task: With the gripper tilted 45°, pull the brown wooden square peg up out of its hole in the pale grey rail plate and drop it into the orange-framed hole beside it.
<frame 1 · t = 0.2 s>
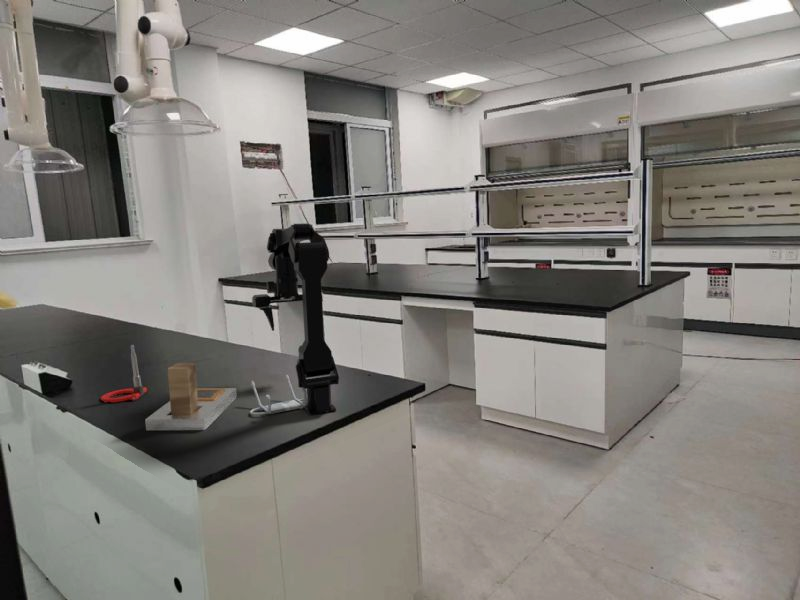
hand: (289, 328, 155), 15 cm above the table, fingers open, 9 cm apart
rail plate: (195, 412, 131), on the table
peg: (185, 421, 126), resting in rail plate
wall mount rack: (279, 407, 135), on the table, touching arm
tow hook: (123, 398, 144), on the table
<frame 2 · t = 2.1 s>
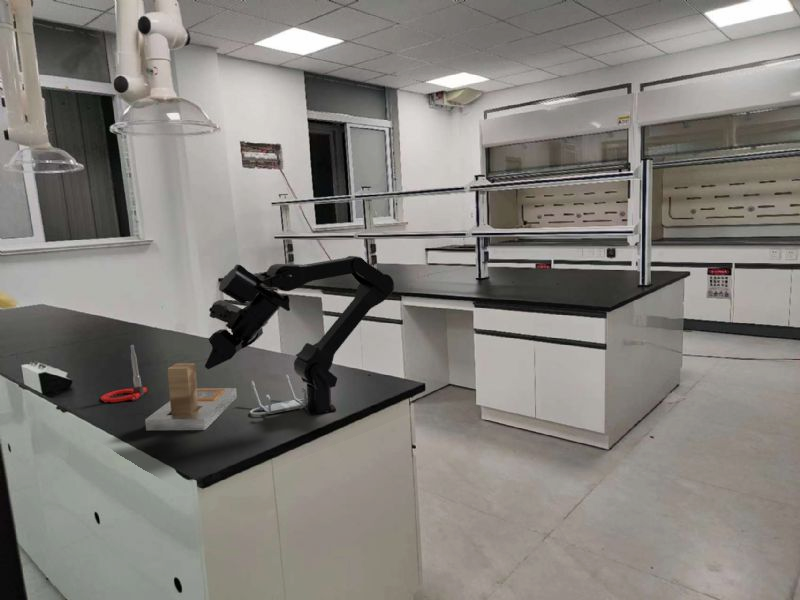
hand: (215, 362, 125), 13 cm above the table, fingers open, 9 cm apart
nothing on the table moved.
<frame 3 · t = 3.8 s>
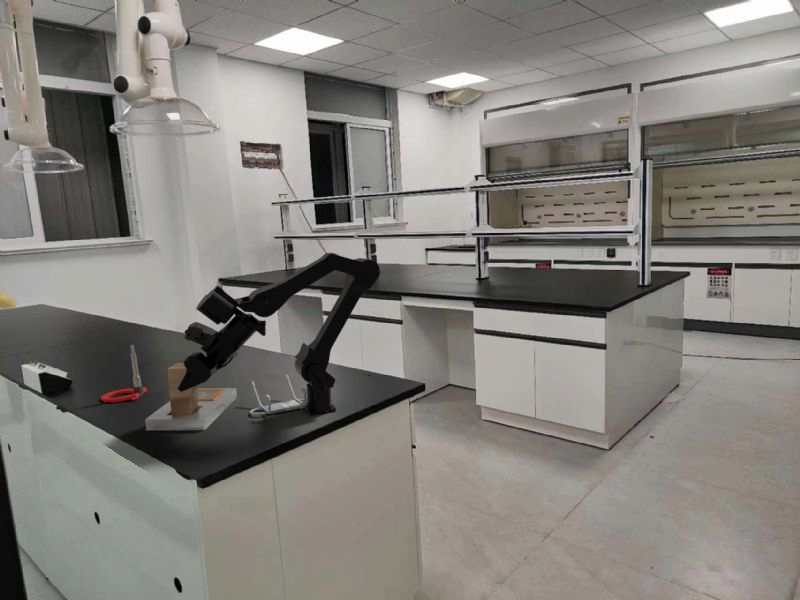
hand: (188, 383, 124), 9 cm above the table, fingers open, 9 cm apart
nothing on the table moved.
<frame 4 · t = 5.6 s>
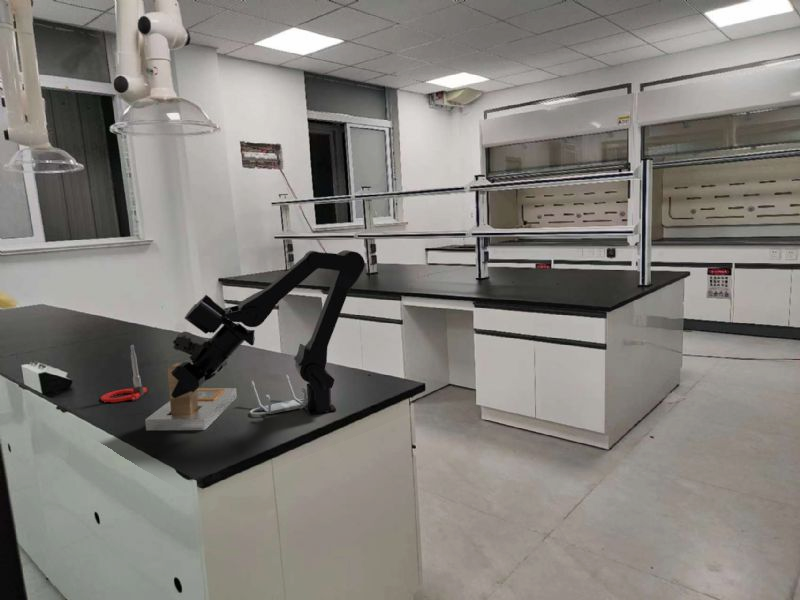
hand: (177, 393, 125), 7 cm above the table, fingers closed on peg, 4 cm apart
peg: (185, 421, 126), resting in rail plate, touching gripper
everything else where it was.
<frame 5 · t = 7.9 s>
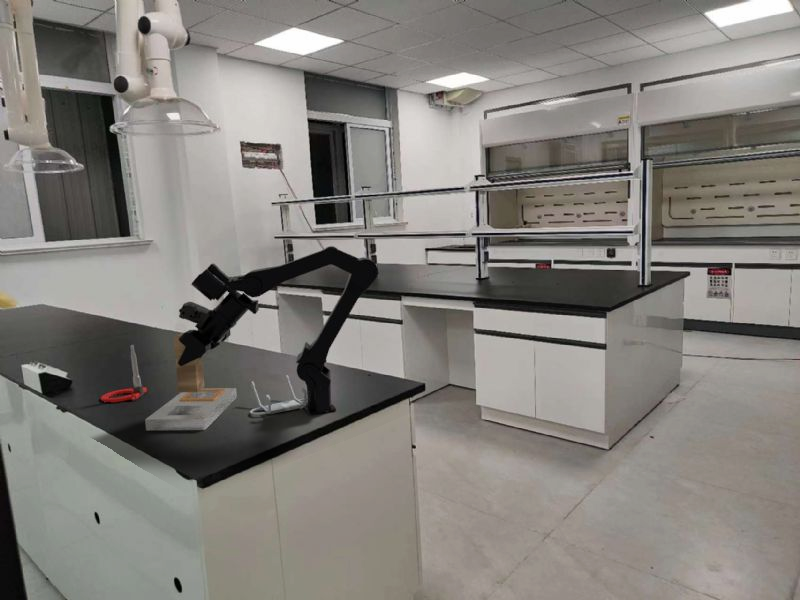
hand: (183, 362, 128), 13 cm above the table, fingers closed on peg, 4 cm apart
peg: (191, 389, 129), point 6 cm above the table, touching gripper
everything else where it was.
when the fingers open (7 cm above the table, at t = 10.5 s): peg stays where it is, resting in rail plate.
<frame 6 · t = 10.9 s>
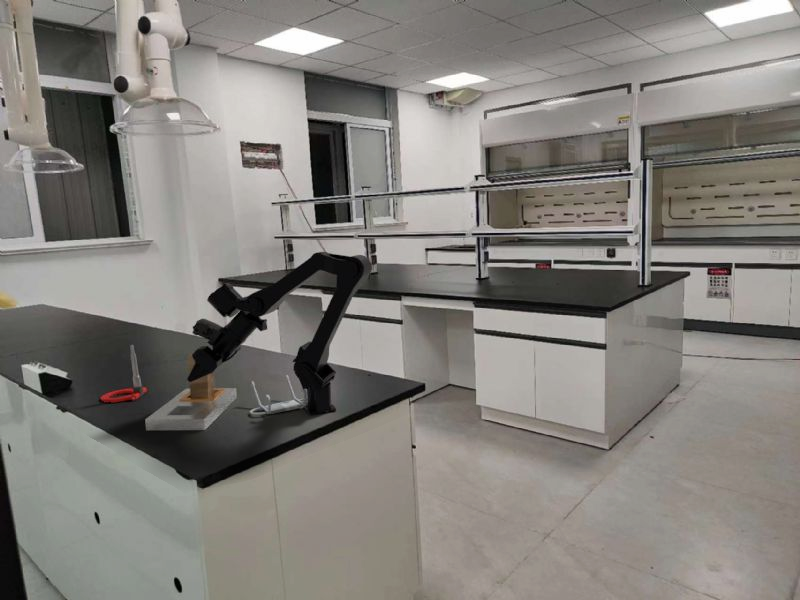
hand: (195, 375, 136), 8 cm above the table, fingers open, 9 cm apart
peg: (203, 404, 137), resting in rail plate
everything else where it was.
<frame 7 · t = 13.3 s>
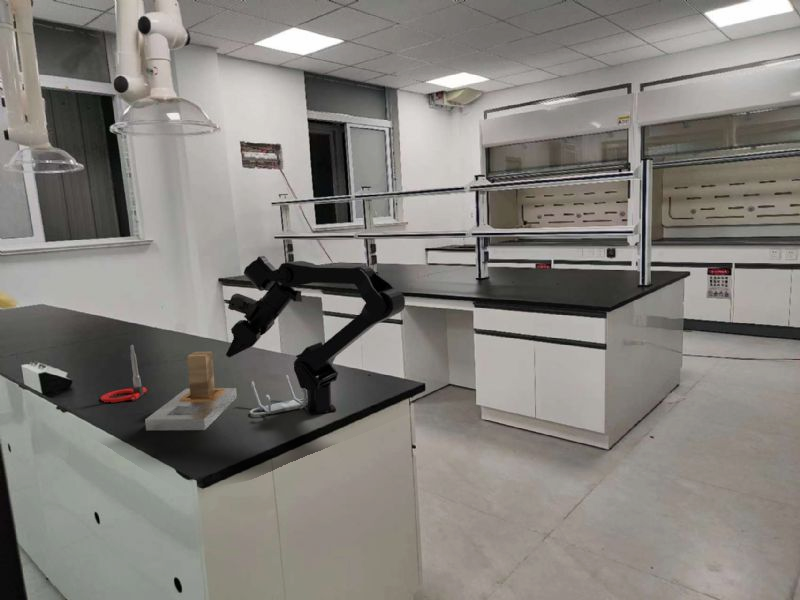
hand: (233, 350, 135), 14 cm above the table, fingers open, 9 cm apart
nothing on the table moved.
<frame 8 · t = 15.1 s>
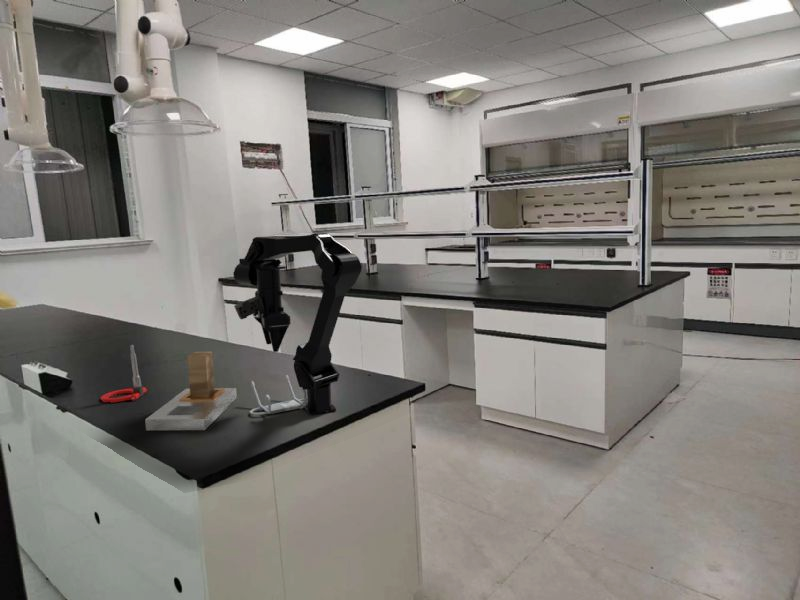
hand: (272, 347, 140), 13 cm above the table, fingers open, 9 cm apart
nothing on the table moved.
at the end: peg 0.0 cm from the target spot, resting in rail plate; peg tilted 0°; the gripper is holding nothing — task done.
